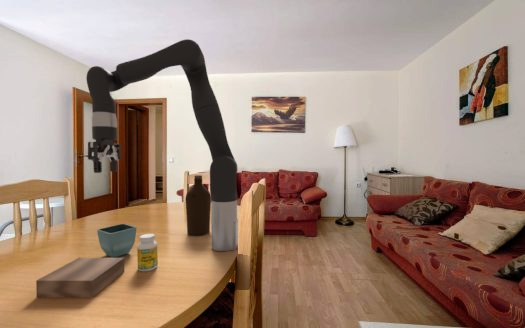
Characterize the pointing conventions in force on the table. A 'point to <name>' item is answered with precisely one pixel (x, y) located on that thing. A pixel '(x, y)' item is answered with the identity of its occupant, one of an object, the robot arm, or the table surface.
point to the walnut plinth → (80, 278)
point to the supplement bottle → (147, 253)
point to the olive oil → (198, 208)
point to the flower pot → (117, 239)
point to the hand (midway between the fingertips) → (106, 172)
